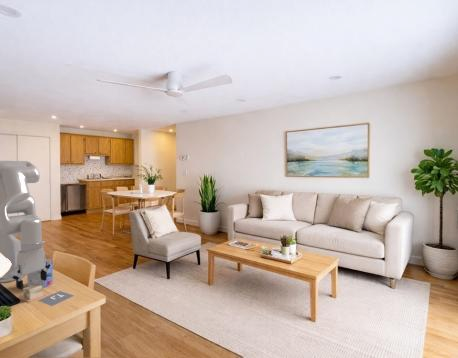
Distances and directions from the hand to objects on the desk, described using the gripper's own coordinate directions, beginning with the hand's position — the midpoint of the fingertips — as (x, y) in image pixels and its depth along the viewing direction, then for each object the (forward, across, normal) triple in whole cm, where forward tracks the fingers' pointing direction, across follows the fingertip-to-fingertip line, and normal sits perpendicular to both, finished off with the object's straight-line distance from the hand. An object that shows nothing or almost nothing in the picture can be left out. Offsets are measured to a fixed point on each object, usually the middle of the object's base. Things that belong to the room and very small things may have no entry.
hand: (32, 284), depth 122 cm
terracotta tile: (+6, 0, +1) cm, 6 cm away
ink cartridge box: (+6, -9, -9) cm, 14 cm away
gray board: (+6, -4, +11) cm, 13 cm away
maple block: (+5, 0, +1) cm, 5 cm away
